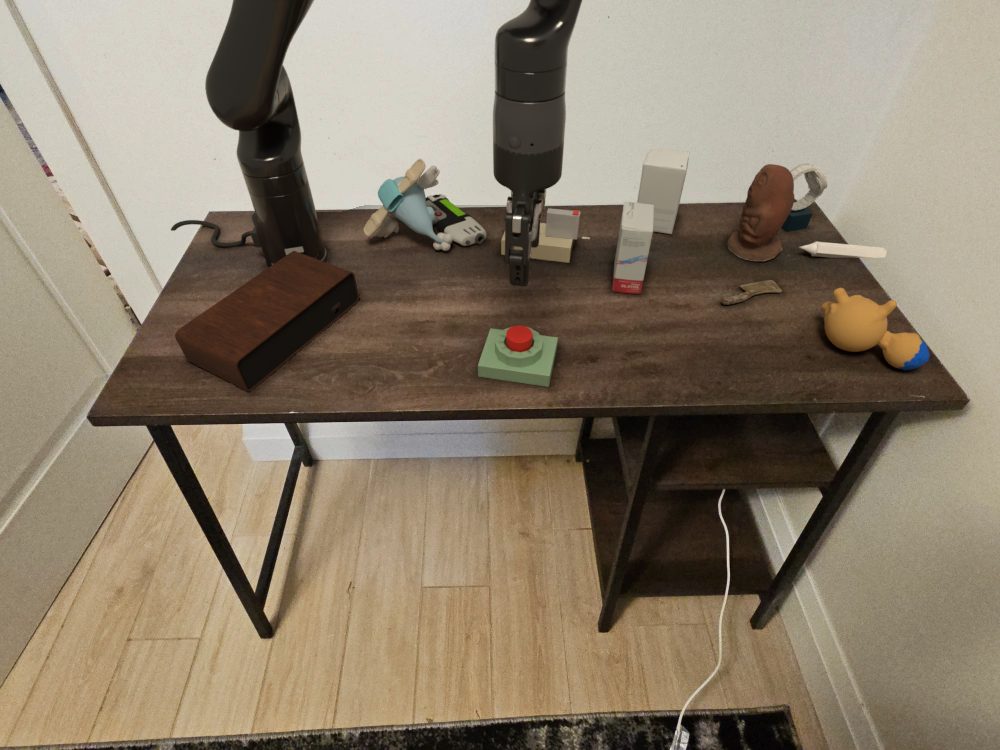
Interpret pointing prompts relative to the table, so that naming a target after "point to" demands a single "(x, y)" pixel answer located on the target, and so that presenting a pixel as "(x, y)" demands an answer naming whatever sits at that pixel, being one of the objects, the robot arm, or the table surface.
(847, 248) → the white pointed rod
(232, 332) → the alarm clock
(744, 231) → the figurine
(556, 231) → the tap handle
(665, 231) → the white packaging box
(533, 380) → the button box
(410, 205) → the toy figure
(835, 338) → the toy
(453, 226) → the toy gun
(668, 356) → the table surface
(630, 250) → the ink box
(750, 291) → the meat cleaver
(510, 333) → the stop button
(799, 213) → the watch
